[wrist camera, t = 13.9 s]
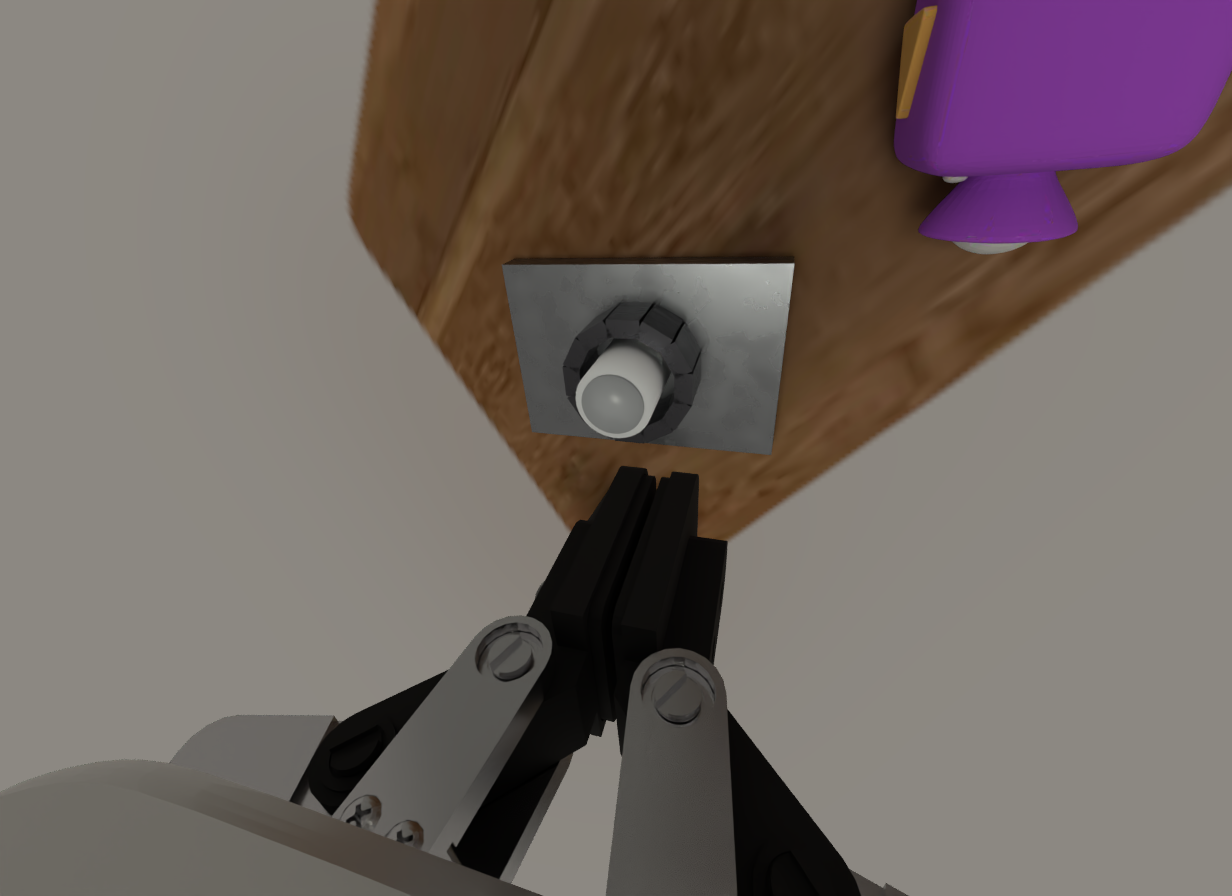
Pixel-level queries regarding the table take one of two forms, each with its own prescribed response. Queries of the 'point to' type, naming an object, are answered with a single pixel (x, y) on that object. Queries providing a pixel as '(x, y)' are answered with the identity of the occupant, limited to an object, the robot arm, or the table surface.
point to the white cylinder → (622, 388)
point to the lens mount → (657, 341)
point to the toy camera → (1048, 102)
